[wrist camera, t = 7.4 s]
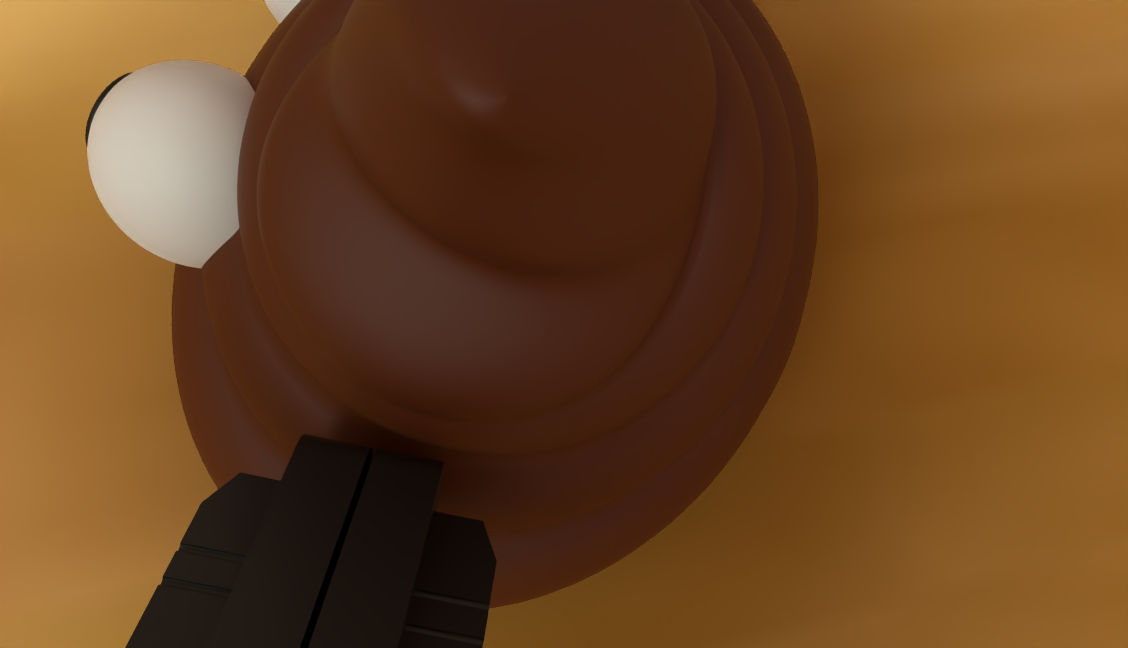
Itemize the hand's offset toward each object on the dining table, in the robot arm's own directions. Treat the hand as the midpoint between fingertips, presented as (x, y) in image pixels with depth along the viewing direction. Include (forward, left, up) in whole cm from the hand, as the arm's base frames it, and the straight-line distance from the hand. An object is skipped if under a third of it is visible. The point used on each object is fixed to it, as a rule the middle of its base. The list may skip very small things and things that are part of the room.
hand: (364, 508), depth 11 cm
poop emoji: (+1, +4, -5) cm, 6 cm away
